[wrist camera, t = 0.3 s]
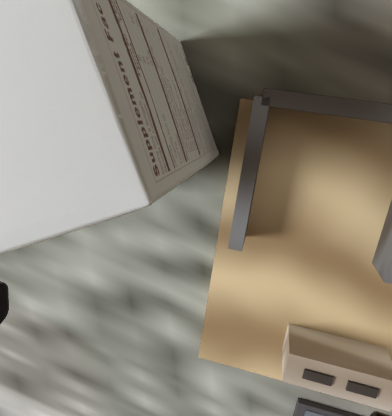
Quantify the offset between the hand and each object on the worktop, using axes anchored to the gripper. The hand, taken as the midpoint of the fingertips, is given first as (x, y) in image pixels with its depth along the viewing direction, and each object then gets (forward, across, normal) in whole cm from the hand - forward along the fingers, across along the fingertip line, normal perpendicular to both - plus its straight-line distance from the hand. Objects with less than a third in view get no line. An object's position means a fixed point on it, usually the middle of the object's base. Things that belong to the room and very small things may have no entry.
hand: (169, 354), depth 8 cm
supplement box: (+15, +7, -3) cm, 17 cm away
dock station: (+15, -6, +4) cm, 16 cm away
